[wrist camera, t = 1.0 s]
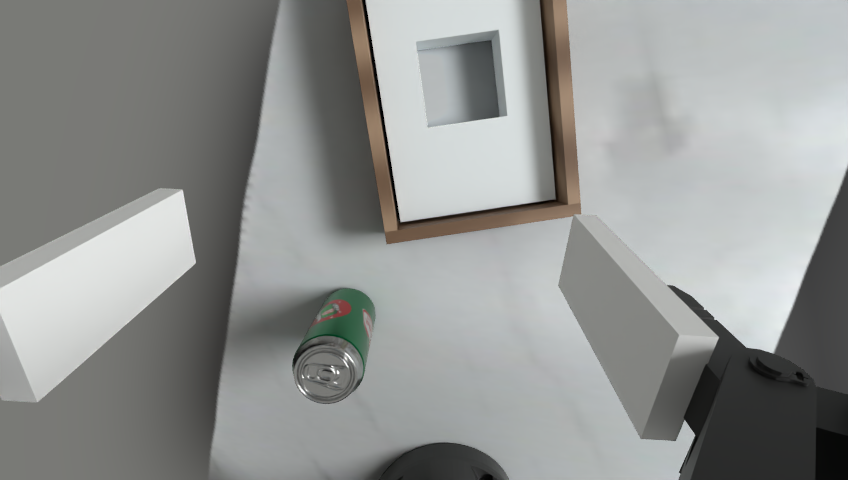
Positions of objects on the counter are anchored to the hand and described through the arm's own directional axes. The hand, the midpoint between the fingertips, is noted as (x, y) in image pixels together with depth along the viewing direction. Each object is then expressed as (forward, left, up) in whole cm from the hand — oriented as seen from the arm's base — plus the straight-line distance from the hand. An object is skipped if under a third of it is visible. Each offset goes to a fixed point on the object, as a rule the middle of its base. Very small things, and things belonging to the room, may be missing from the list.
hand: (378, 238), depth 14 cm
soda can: (-11, +6, -24) cm, 28 cm away
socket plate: (+8, -7, -24) cm, 26 cm away
